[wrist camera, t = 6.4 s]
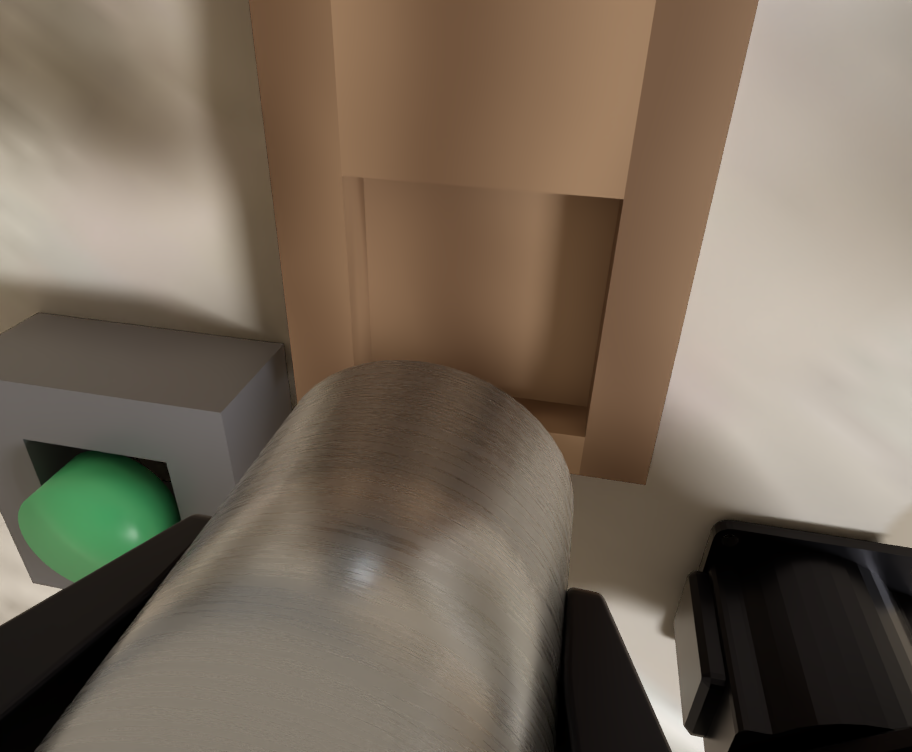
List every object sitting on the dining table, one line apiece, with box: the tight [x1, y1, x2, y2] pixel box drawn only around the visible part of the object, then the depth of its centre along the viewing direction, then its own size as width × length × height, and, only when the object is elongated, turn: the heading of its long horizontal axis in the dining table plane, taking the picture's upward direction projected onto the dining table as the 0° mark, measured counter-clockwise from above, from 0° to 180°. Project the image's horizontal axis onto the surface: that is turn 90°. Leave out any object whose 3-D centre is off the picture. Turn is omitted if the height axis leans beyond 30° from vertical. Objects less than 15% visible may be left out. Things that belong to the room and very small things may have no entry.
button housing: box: [0, 313, 292, 589], centre depth 22 cm, size 9×9×4 cm
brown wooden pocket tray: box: [249, 0, 759, 485], centre depth 14 cm, size 10×20×2 cm, turn 179°
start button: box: [18, 450, 181, 583], centre depth 20 cm, size 4×4×2 cm
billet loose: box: [34, 360, 574, 752], centre depth 7 cm, size 4×4×7 cm
